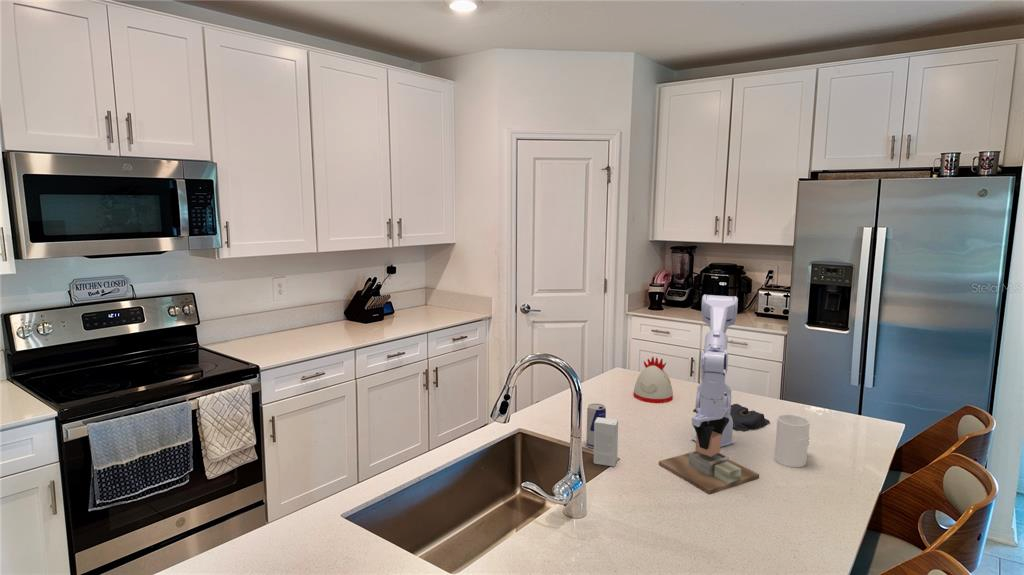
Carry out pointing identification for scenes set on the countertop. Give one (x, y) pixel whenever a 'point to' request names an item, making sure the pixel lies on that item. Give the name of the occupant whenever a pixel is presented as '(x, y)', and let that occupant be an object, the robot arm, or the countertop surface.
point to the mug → (792, 440)
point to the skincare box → (605, 441)
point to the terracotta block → (710, 445)
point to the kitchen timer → (653, 383)
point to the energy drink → (592, 415)
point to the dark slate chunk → (746, 418)
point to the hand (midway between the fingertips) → (709, 445)
